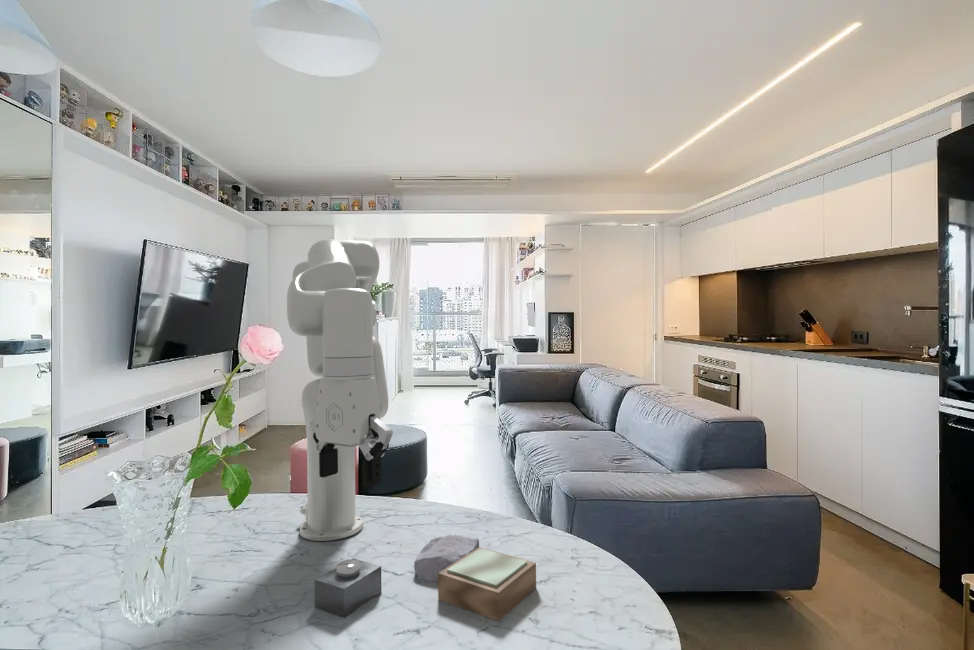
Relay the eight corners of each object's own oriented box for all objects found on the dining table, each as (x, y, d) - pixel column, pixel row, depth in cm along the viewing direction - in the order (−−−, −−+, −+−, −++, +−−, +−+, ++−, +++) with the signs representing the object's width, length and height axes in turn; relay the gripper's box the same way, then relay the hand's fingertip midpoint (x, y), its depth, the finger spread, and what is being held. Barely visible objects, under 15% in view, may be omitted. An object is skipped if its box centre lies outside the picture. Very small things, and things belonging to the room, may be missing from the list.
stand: (438, 599, 78) (437, 570, 78) (479, 570, 87) (479, 544, 87) (498, 621, 72) (498, 589, 72) (536, 588, 81) (535, 560, 81)
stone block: (411, 591, 84) (469, 583, 82) (406, 561, 85) (463, 553, 83) (433, 561, 96) (484, 554, 94) (428, 536, 96) (478, 528, 95)
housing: (314, 609, 76) (314, 571, 76) (353, 585, 83) (352, 550, 83) (344, 619, 73) (344, 580, 73) (381, 594, 80) (381, 558, 80)
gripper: (292, 368, 80) (293, 477, 80) (369, 372, 71) (371, 496, 70) (330, 365, 86) (332, 466, 86) (406, 368, 77) (408, 482, 77)
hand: (349, 479), depth 78 cm, fingers open, 9 cm apart
